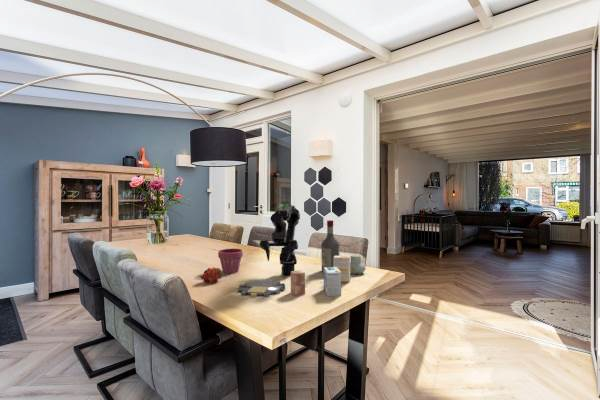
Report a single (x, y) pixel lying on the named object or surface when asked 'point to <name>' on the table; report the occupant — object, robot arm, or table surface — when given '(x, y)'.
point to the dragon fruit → (211, 275)
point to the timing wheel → (261, 288)
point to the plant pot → (230, 260)
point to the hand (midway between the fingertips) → (277, 260)
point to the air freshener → (356, 265)
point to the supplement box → (343, 267)
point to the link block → (297, 282)
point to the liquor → (329, 247)
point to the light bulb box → (332, 281)
